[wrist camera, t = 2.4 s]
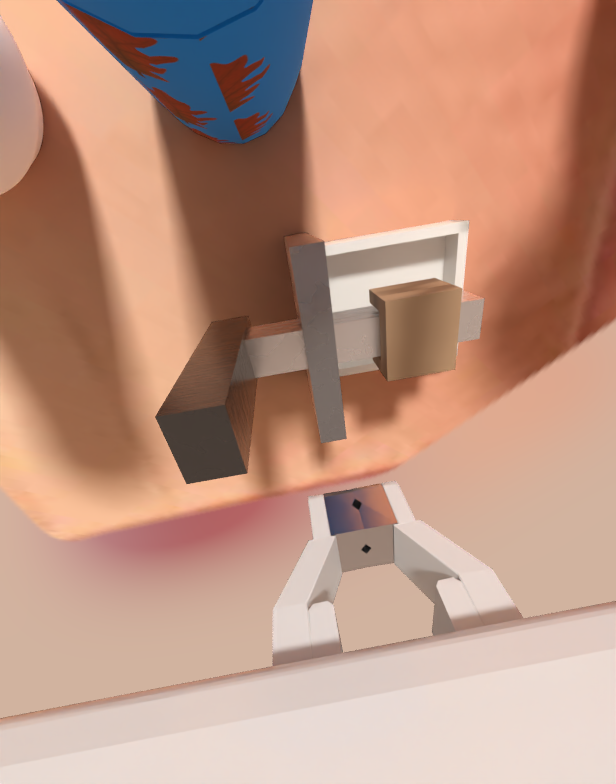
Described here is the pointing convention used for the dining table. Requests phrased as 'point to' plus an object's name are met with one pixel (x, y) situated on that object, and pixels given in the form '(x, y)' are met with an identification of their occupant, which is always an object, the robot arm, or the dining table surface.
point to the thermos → (207, 56)
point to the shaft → (239, 380)
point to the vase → (17, 114)
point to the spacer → (417, 327)
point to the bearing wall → (317, 331)
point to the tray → (393, 266)
